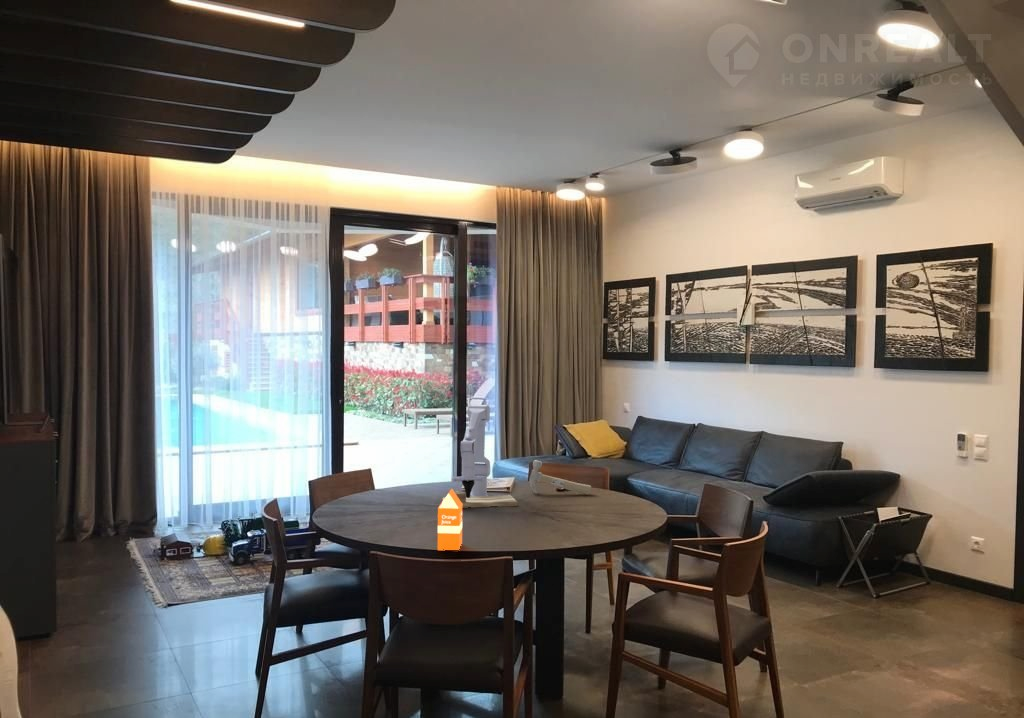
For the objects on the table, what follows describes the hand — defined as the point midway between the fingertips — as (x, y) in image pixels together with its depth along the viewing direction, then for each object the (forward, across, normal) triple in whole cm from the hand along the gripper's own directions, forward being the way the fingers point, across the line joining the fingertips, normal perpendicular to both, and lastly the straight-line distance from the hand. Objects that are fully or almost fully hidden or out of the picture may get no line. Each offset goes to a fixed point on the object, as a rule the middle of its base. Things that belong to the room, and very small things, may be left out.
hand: (467, 497), depth 314 cm
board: (+4, +6, +4) cm, 8 cm away
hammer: (+4, +48, +19) cm, 52 cm away
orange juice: (+4, -16, -65) cm, 67 cm away
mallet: (+2, -4, +3) cm, 5 cm away
